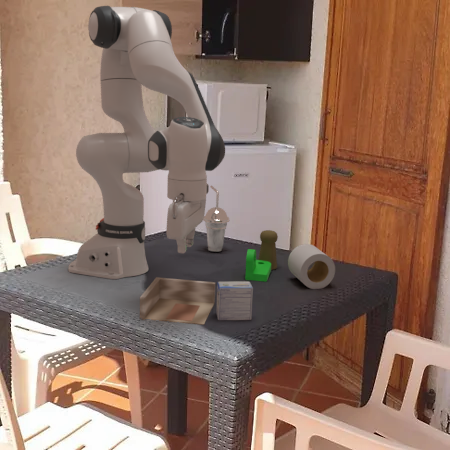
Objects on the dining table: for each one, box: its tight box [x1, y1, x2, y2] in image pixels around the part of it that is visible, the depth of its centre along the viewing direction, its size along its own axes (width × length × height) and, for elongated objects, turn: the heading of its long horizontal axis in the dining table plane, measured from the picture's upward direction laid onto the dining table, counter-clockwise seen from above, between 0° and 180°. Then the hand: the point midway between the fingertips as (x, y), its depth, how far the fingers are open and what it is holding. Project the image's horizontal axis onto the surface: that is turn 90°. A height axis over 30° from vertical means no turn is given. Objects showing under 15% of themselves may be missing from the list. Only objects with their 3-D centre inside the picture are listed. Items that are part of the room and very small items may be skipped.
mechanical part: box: [244, 248, 272, 283], centre depth 190 cm, size 12×6×8 cm, turn 169°
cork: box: [257, 229, 279, 271], centre depth 197 cm, size 6×6×11 cm
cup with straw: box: [202, 185, 230, 252], centre depth 213 cm, size 8×9×20 cm
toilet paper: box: [287, 243, 336, 290], centre depth 184 cm, size 10×10×10 cm
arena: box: [139, 276, 216, 326], centre depth 159 cm, size 15×15×6 cm
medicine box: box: [215, 280, 254, 321], centre depth 156 cm, size 8×4×9 cm, turn 98°
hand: (185, 249), depth 154 cm, fingers open, 4 cm apart
